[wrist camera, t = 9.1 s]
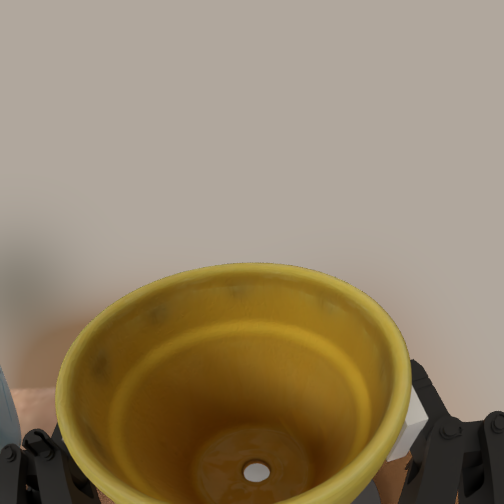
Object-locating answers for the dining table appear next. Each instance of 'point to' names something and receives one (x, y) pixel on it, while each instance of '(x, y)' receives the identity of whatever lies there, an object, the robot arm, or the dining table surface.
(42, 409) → the dining table surface
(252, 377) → the plant pot
